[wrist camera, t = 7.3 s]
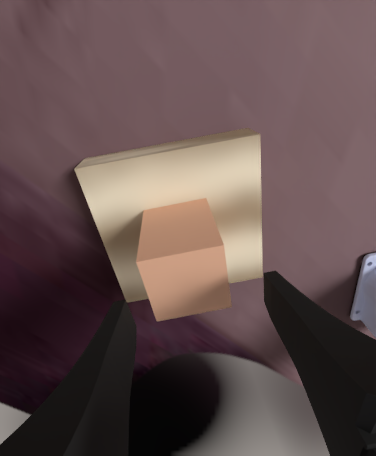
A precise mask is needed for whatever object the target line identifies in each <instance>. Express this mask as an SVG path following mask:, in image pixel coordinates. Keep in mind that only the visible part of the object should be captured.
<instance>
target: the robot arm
mask: <svg viewBox="0 0 376 456" xmlns="http://www.w3.org/2000/svg"><path fill="white" fill-rule="evenodd" d="M264 302H265V305H266V307H267V310H268V313H269V315H270V318H271V320H272V322H273V324H274V326H275V328H276V330H277V332H278V334H279V336H280V338H281V340H282V341H283V343H284V345H285V347H286V349H287V351H288V353H289V355H290V357H291V359H292V360H293V363H294V365H295V367H296V369H297V371H298V374H299V376H300V378H301V381H302V383H303V386H304V388H305V390H306V393H307V396H308V398H309V401H310V403H311V406H312V408H313V411H314V413H315V416H316V418H317V421H318V424H319V426H320V429H321V432H322V434H323V437H324V439H325V442H326V445H327V448H328V451H329V454H330V456H376V340H375V339H373V338H371V337H369V336H367V335H365V334H363V333H362V332H360V331H358V330H356V329H354V328H352V327H351V326H349V325H347V324H345V323H344V322H342V321H341V320H339V319H337V318H336V317H334V316H333V315H331V314H330V313H328V312H327V311H325V310H324V309H322V308H321V307H320V306H318V305H317V304H315V303H314V302H313V301H311V300H310V299H309V298H308V297H306V296H305V295H304V294H302V293H301V292H300V291H299V290H297V289H296V288H295V287H294V286H293V285H292V284H290V283H289V282H288V281H287V280H286V279H285V278H283V277H282V276H281V275H280V274H279V273H278V272H276V271H272V272H266V273H264ZM350 318H351V319H352V320H353V321H356V320H361V321H362V322H363V323H364V324H365V326H366V327H367V328H368V329H369V330H370V331H371V333H372V334H373V335H374V336H375V337H376V253H372V254H367V255H366V256H365V257H364V258H363V262H362V266H361V271H360V275H359V280H358V284H357V288H356V293H355V297H354V301H353V306H352V310H351V315H350ZM135 352H136V324H135V322H134V319H133V317H132V314H131V312H130V309H129V307H128V304H127V302H126V300H122V301H116V302H114V303H113V304H112V306H111V308H110V309H109V311H108V313H107V315H106V317H105V318H104V320H103V322H102V324H101V325H100V327H99V329H98V330H97V332H96V334H95V335H94V337H93V339H92V340H91V342H90V343H89V345H88V346H87V348H86V349H85V351H84V352H83V354H82V355H81V357H80V358H79V360H78V361H77V362H76V364H75V365H74V366H73V368H72V369H71V370H70V372H69V373H68V374H67V376H66V377H65V378H64V379H63V381H62V382H61V383H60V384H59V385H58V387H57V388H56V389H55V390H54V391H53V392H52V393H51V395H50V396H49V397H48V398H47V399H46V400H45V401H44V402H43V404H42V405H41V406H40V407H39V408H38V409H37V410H36V411H35V412H34V413H33V414H32V415H31V416H30V417H29V418H28V419H27V420H26V421H25V422H24V423H23V424H22V425H21V426H20V427H19V428H18V429H17V430H16V431H15V432H14V433H12V434H11V435H10V436H9V437H8V438H7V439H6V440H5V441H4V442H3V443H2V444H1V445H0V456H128V435H129V433H128V432H129V403H130V402H129V401H130V391H131V383H132V375H133V368H134V360H135Z"/></svg>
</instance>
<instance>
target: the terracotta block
mask: <svg viewBox="0 0 376 456" xmlns="http://www.w3.org/2000/svg"><path fill="white" fill-rule="evenodd" d="M136 263H137V266H138V269H139V272H140V275H141V277H142V280H143V283H144V286H145V289H146V292H147V295H148V297H149V300H150V303H151V306H152V309H153V312H154V314H155V317H156V320H157V321H162V320H167V319H173V318H178V317H183V316H188V315H193V314H199V313H204V312H209V311H214V310H219V309H225V308H230V307H232V305H231V297H230V289H229V281H228V273H227V265H226V257H225V249H224V244H223V241H222V238H221V236H220V233H219V231H218V228H217V225H216V223H215V220H214V217H213V215H212V212H211V209H210V207H209V204H208V201H207V199H206V198H203V199H198V200H193V201H188V202H183V203H178V204H173V205H168V206H163V207H158V208H153V209H148V210H144V211H143V218H142V225H141V232H140V239H139V246H138V253H137V260H136Z"/></svg>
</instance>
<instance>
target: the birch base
mask: <svg viewBox="0 0 376 456" xmlns="http://www.w3.org/2000/svg"><path fill="white" fill-rule="evenodd" d="M74 170H75V172H76V175H77V177H78V180H79V182H80V185H81V188H82V190H83V193H84V195H85V198H86V200H87V203H88V205H89V208H90V210H91V213H92V215H93V218H94V221H95V223H96V226H97V228H98V231H99V233H100V236H101V238H102V241H103V243H104V246H105V249H106V251H107V254H108V256H109V259H110V261H111V264H112V266H113V269H114V271H115V274H116V277H117V279H118V282H119V284H120V287H121V289H122V292H123V294H124V297H125V299H126V302H127V303H128V302H133V301H138V300H144V299H149V297H148V295H147V292H146V289H145V286H144V283H143V280H142V277H141V275H140V272H139V269H138V266H137V263H136V260H137V253H138V246H139V239H140V232H141V225H142V218H143V211H144V210H148V209H153V208H158V207H163V206H168V205H173V204H178V203H183V202H188V201H193V200H198V199H203V198H206V199H207V201H208V204H209V207H210V209H211V212H212V215H213V217H214V220H215V223H216V225H217V228H218V231H219V233H220V236H221V238H222V241H223V244H224V249H225V257H226V265H227V273H228V281H229V283H234V282H239V281H244V280H250V279H255V278H260V277H263V270H262V210H261V150H260V134H259V133H257V132H255V131H253V130H251V129H249V128H245V129H239V130H234V131H229V132H223V133H218V134H212V135H207V136H202V137H196V138H191V139H186V140H180V141H175V142H170V143H164V144H159V145H154V146H148V147H143V148H138V149H132V150H127V151H121V152H116V153H111V154H105V155H100V156H95V157H89V158H85V159H84V160H83V161H82V162H81V163H80V164H79V165H78V166H77V167H76V168H75V169H74Z"/></svg>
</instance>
